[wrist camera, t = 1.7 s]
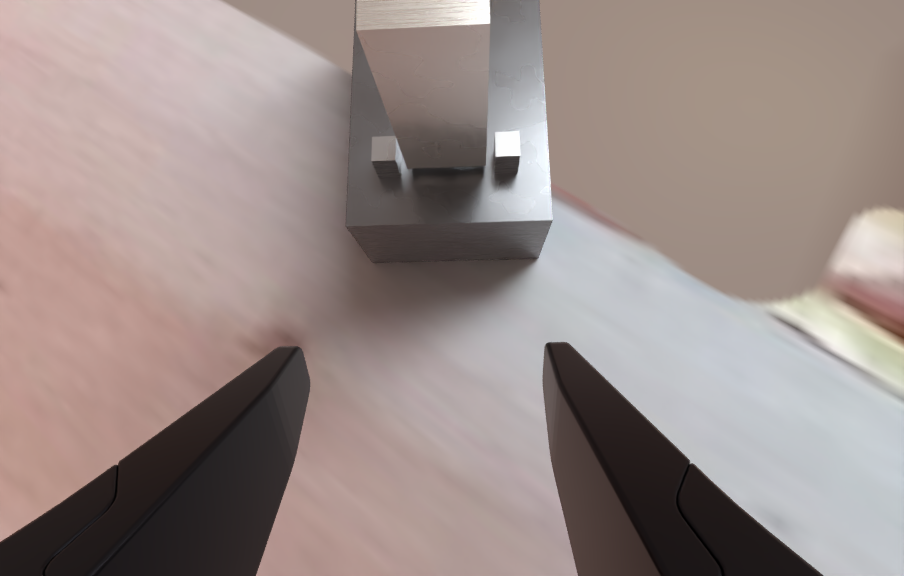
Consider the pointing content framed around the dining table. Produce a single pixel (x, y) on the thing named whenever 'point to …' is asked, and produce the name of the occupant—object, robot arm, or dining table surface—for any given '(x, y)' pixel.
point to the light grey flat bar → (431, 76)
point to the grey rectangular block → (458, 188)
